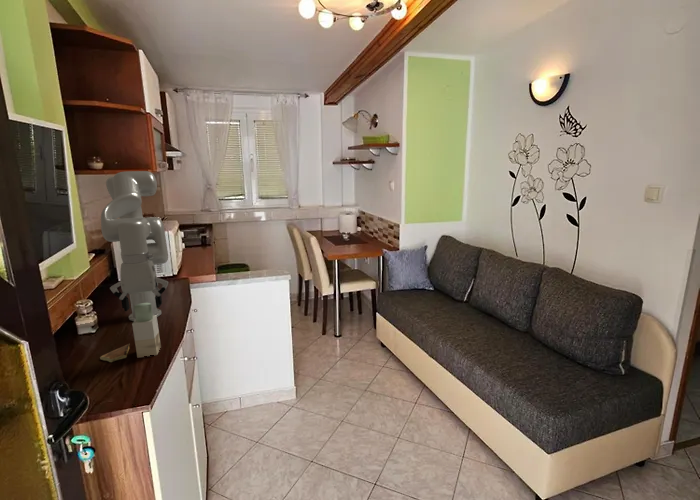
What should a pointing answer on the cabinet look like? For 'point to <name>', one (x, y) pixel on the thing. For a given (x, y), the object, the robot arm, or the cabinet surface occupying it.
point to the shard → (116, 354)
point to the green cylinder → (143, 312)
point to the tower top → (145, 329)
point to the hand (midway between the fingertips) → (143, 308)
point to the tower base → (148, 346)
